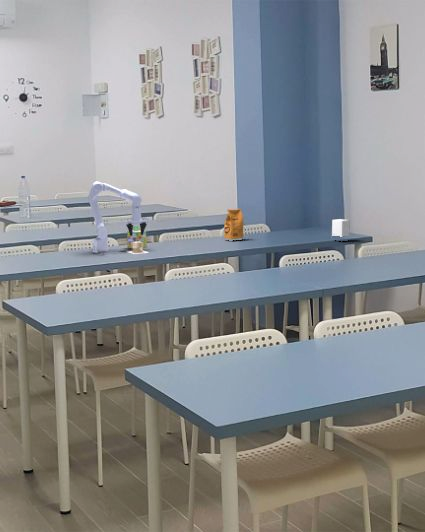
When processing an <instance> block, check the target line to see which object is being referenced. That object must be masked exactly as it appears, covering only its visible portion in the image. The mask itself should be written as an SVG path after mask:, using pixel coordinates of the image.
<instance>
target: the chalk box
mask: <svg viewBox="0 0 425 532" xmlns="http://www.w3.org/2000/svg"><path fill="white" fill-rule="evenodd" d="M126 234H127V236H126V237H127V239H126V240H127V242H126V243H127V245H126V246H127V248H133V242H138V241H139V242H143V249H144V248H147V231H146V230H144V233H143V235H141V230H140V229H139V226H138V225H133V235H132V236H130V233H129V230H128V231H127V232H126Z"/></svg>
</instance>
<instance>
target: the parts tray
mask: <svg viewBox="0 0 425 532" xmlns="http://www.w3.org/2000/svg"><path fill="white" fill-rule="evenodd" d="M126 253H128V254H130V255H142V254H149V252H148V251H146V250H144V251H143V253H133V251H129V252H126Z"/></svg>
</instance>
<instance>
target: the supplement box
mask: <svg viewBox="0 0 425 532" xmlns="http://www.w3.org/2000/svg"><path fill="white" fill-rule="evenodd" d="M331 221H332V222H331V224H332V225H331V237H332V236H340V237H343V236H348V235H349V236H350V228H351V227H350V225H351V220H350V219H345V218H344V219H343V218H339V219H332V220H331Z"/></svg>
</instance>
